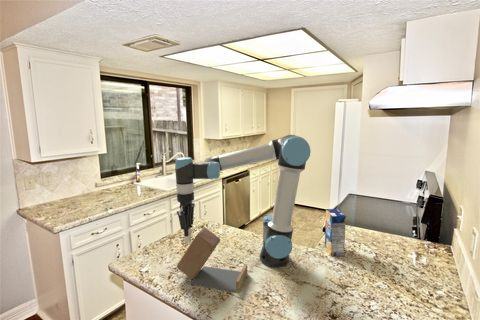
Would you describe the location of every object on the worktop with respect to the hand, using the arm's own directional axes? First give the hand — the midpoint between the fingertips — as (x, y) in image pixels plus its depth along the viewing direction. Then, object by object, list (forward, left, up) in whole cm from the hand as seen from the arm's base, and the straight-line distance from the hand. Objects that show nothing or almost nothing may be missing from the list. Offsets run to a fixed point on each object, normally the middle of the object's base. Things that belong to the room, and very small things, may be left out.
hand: (188, 241), depth 121 cm
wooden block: (+1, 0, -14) cm, 14 cm away
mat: (-15, 0, -16) cm, 22 cm away
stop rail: (-26, 0, -16) cm, 30 cm away
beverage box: (-67, -39, -17) cm, 79 cm away
